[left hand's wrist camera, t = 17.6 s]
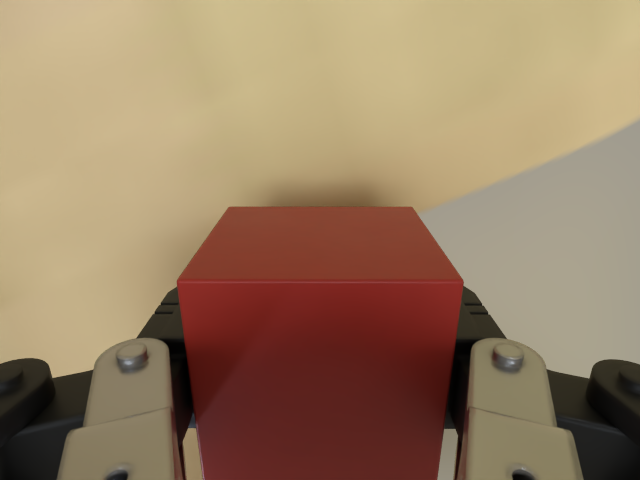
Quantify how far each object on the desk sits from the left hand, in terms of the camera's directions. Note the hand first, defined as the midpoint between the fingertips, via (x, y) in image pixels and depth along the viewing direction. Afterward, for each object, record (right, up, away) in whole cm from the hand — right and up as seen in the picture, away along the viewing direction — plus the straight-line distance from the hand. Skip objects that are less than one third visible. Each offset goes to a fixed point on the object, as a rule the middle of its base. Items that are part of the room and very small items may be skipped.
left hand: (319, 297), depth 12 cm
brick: (0, 0, +1) cm, 1 cm away
